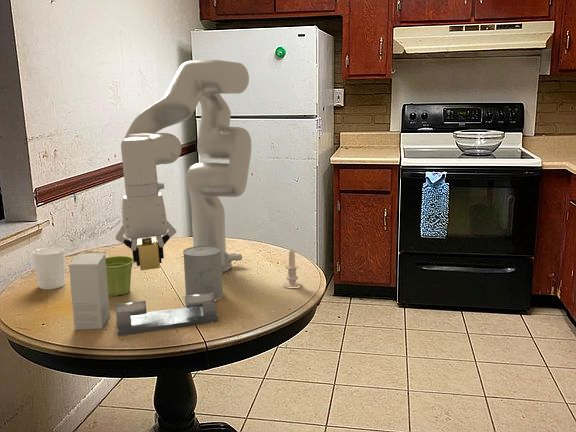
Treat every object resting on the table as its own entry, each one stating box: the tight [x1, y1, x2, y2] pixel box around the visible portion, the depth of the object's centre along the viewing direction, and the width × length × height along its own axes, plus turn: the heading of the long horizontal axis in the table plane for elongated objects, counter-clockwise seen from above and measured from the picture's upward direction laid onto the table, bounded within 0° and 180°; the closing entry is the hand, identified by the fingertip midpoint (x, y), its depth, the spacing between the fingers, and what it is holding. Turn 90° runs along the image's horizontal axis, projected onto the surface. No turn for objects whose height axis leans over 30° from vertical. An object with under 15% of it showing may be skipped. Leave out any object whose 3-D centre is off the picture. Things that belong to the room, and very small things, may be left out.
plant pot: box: [105, 255, 135, 297], centre depth 148 cm, size 9×9×9 cm
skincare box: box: [68, 252, 111, 331], centre depth 128 cm, size 8×7×16 cm
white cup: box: [32, 246, 66, 290], centre depth 154 cm, size 8×8×10 cm
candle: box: [282, 249, 303, 287], centre depth 152 cm, size 5×5×10 cm
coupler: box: [137, 237, 161, 271], centre depth 137 cm, size 6×4×7 cm
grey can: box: [182, 246, 224, 301], centre depth 144 cm, size 10×10×12 cm
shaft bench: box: [115, 292, 219, 336], centre depth 130 cm, size 22×9×6 cm, turn 108°
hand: (148, 262), depth 138 cm, fingers closed on coupler, 4 cm apart
